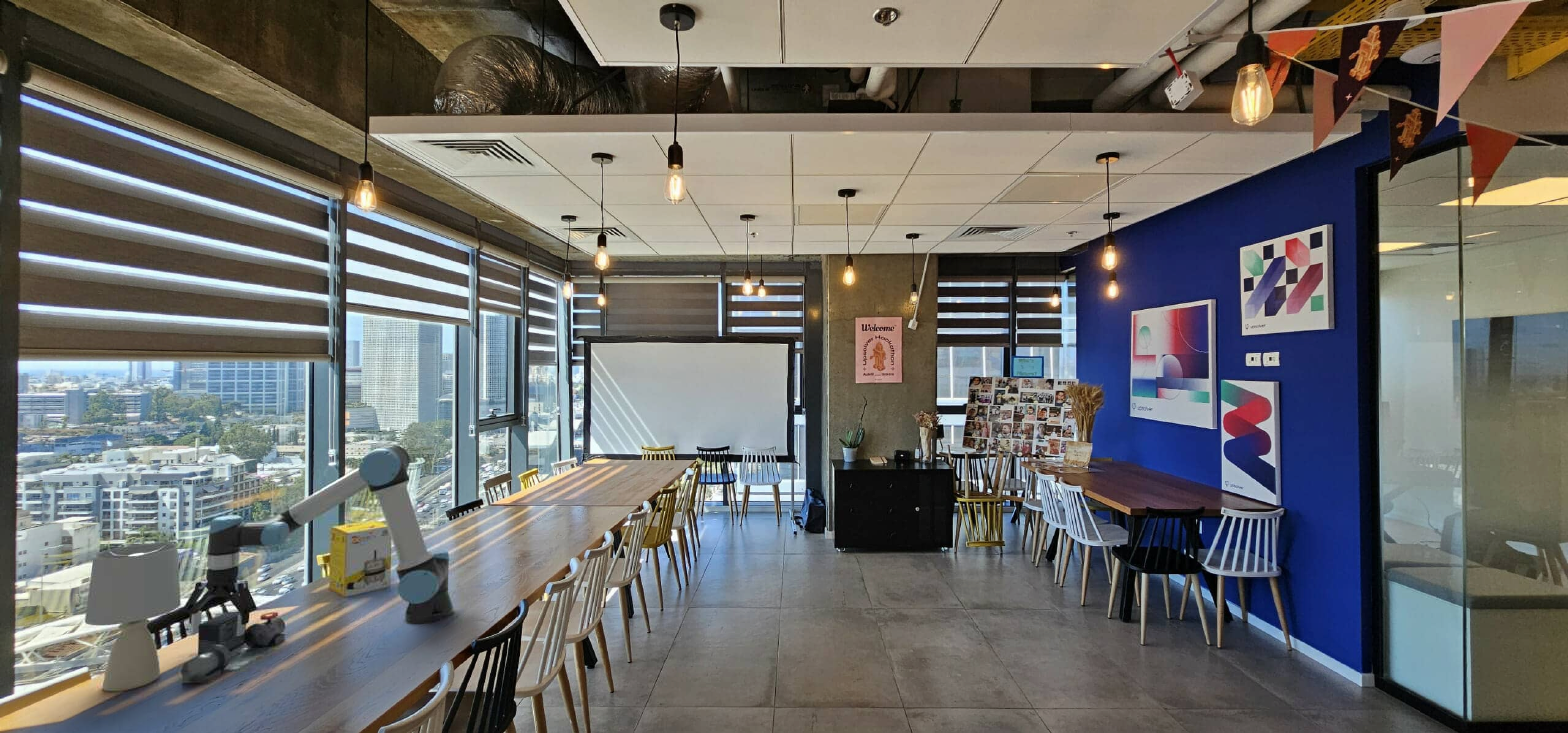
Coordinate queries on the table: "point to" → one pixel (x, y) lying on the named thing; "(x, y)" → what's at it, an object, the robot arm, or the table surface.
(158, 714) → the table surface
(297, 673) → the table surface
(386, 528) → the packaging box
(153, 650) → the lamp
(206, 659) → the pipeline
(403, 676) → the table surface
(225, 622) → the small box
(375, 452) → the robot arm
